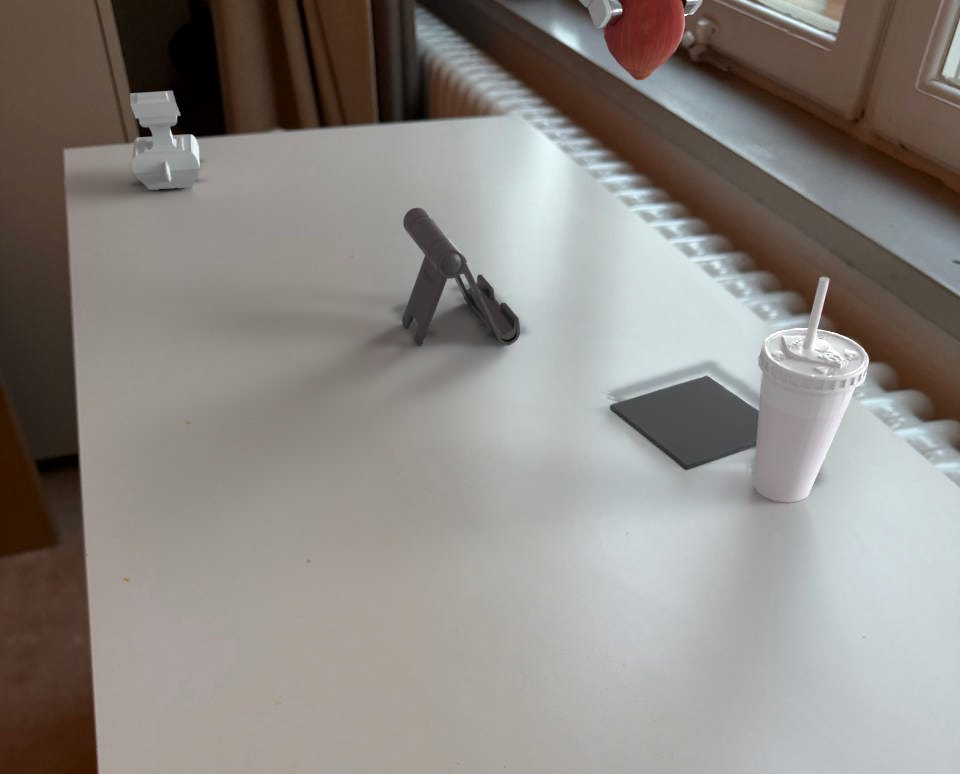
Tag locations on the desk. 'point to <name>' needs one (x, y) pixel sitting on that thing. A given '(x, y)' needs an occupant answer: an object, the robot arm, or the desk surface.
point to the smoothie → (802, 403)
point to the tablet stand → (450, 264)
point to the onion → (645, 35)
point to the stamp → (162, 144)
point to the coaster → (692, 421)
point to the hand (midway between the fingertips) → (651, 16)
